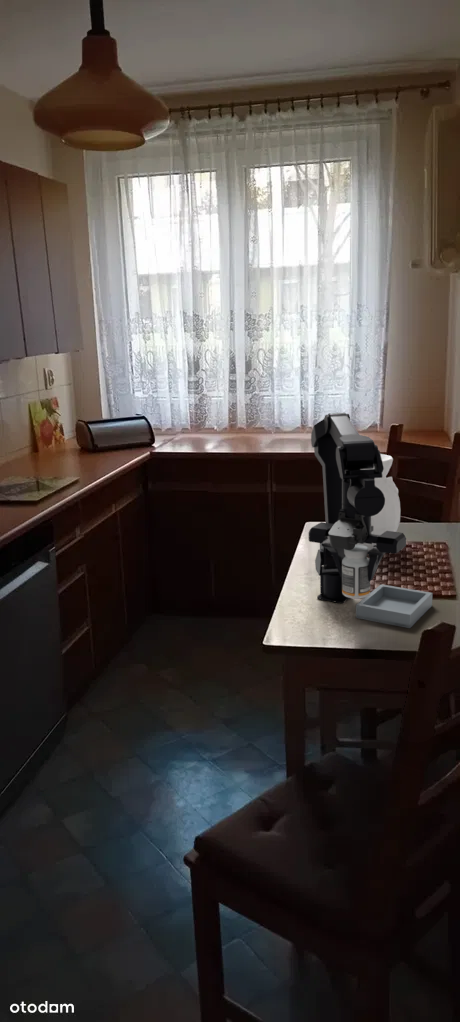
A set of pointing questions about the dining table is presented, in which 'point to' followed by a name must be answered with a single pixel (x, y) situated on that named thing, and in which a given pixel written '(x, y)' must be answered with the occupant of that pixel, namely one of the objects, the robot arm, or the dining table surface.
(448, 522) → the dining table surface
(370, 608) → the tray
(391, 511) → the pitcher
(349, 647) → the dining table surface
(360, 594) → the pill bottle
